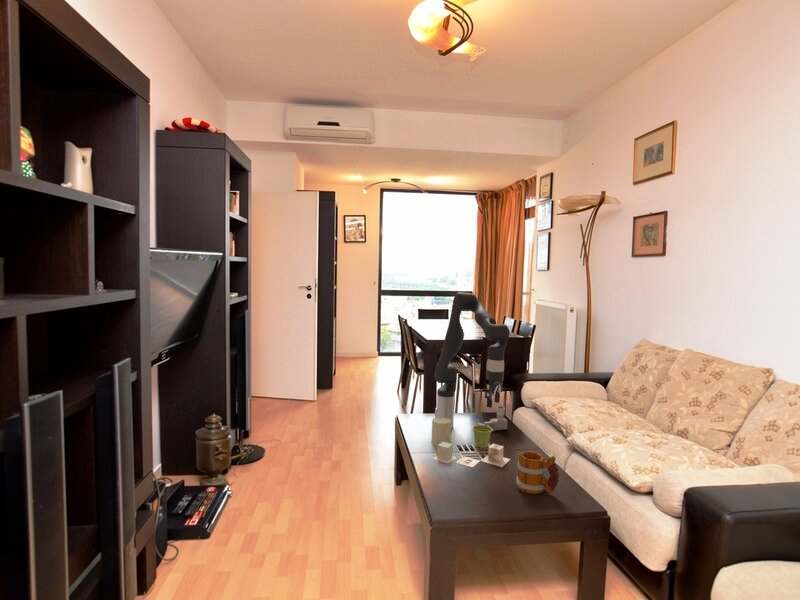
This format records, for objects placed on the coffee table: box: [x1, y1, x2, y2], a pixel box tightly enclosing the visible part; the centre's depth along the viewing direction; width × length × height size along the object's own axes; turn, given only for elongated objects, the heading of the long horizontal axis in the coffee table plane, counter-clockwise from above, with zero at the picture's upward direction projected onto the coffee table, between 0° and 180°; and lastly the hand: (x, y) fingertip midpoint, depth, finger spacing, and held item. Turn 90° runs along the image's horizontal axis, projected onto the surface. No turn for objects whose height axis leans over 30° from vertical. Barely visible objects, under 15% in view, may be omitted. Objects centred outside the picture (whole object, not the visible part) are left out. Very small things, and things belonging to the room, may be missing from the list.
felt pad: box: [480, 454, 511, 468], centre depth 198 cm, size 10×10×1 cm
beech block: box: [487, 443, 505, 463], centre depth 197 cm, size 5×5×6 cm
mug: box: [515, 450, 560, 495], centre depth 172 cm, size 11×16×15 cm, turn 51°
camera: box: [476, 405, 508, 432], centre depth 237 cm, size 9×12×15 cm
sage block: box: [436, 442, 454, 461], centre depth 198 cm, size 5×5×6 cm
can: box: [430, 417, 451, 447], centre depth 215 cm, size 9×9×12 cm
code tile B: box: [432, 455, 457, 464], centre depth 198 cm, size 8×8×1 cm
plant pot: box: [472, 424, 493, 449], centre depth 214 cm, size 9×9×9 cm
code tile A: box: [455, 456, 481, 468], centre depth 195 cm, size 8×8×1 cm
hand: (493, 404), depth 198 cm, fingers open, 8 cm apart
